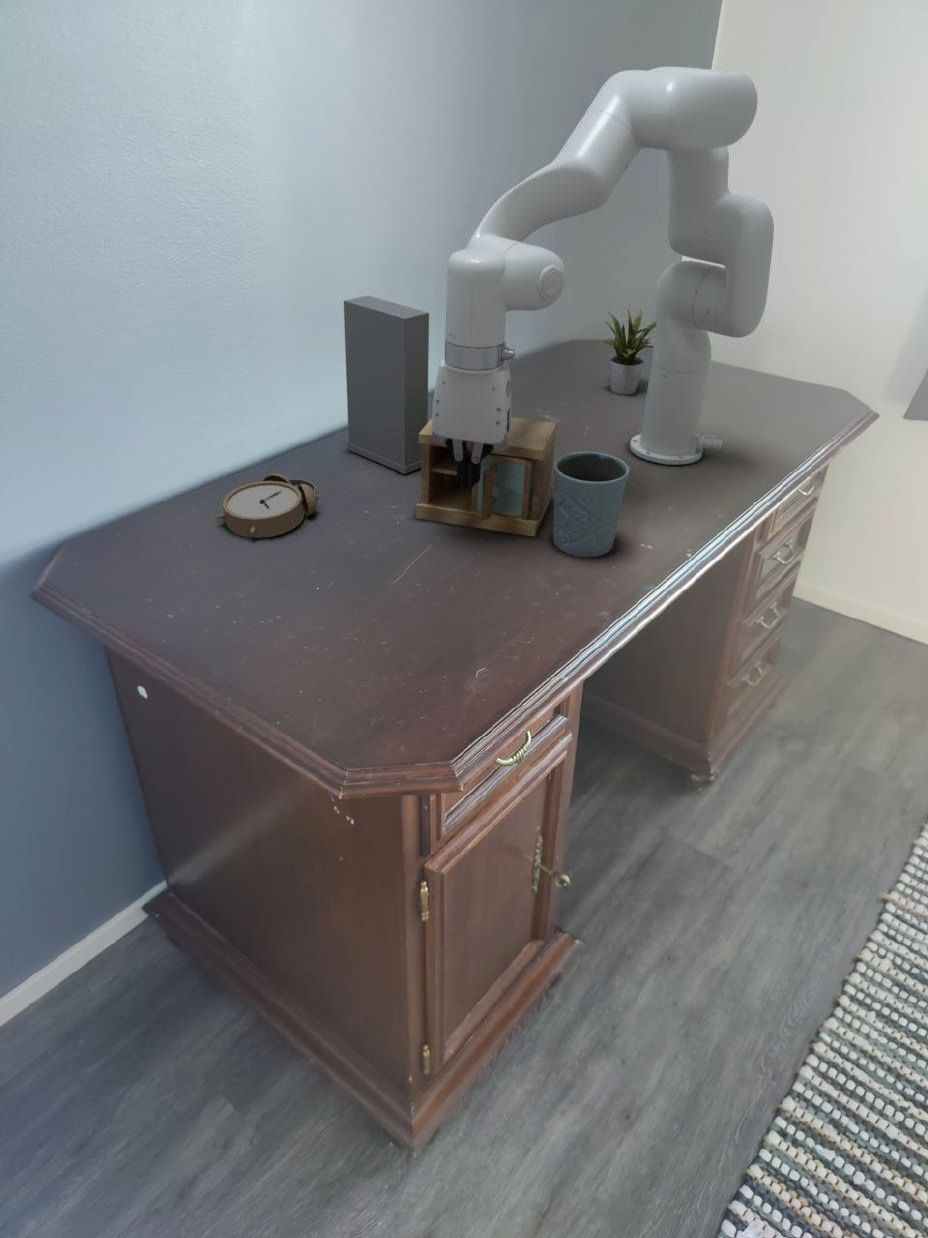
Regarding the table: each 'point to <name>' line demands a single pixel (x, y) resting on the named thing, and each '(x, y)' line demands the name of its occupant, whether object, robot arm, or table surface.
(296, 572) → the table surface
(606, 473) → the blue-grey pot
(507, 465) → the cabinet door
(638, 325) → the house plant
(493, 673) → the table surface
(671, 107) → the robot arm
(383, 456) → the cassette tape recorder
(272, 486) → the alarm clock
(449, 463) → the curio cabinet
